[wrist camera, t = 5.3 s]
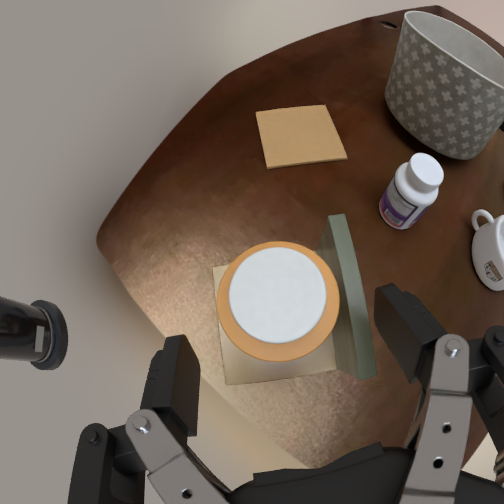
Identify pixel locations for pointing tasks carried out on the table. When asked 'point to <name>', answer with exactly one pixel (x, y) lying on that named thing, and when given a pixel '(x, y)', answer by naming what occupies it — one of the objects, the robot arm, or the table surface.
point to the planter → (446, 86)
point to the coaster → (299, 136)
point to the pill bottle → (411, 191)
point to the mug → (489, 250)
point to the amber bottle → (278, 301)
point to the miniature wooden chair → (341, 337)
